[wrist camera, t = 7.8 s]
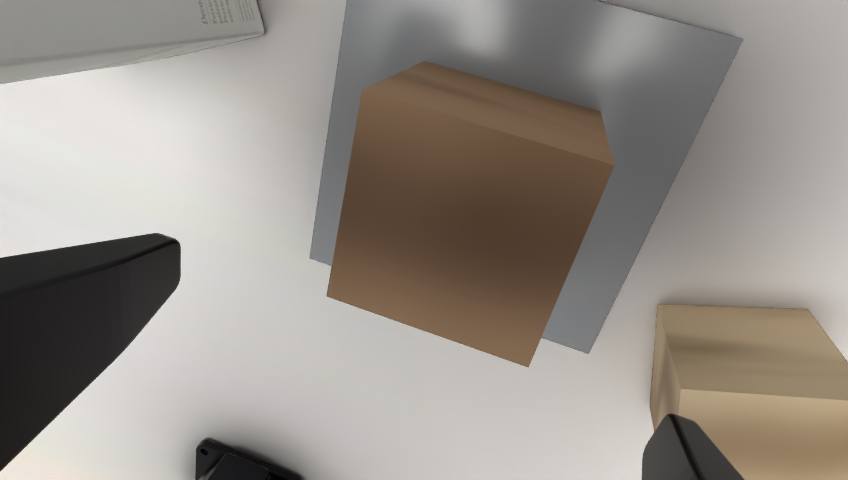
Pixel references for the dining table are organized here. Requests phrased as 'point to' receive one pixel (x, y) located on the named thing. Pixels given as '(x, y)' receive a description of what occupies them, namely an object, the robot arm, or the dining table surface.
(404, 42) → the plate
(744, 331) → the oak cube
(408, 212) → the walnut cube
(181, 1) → the supplement box
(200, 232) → the dining table surface
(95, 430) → the dining table surface
